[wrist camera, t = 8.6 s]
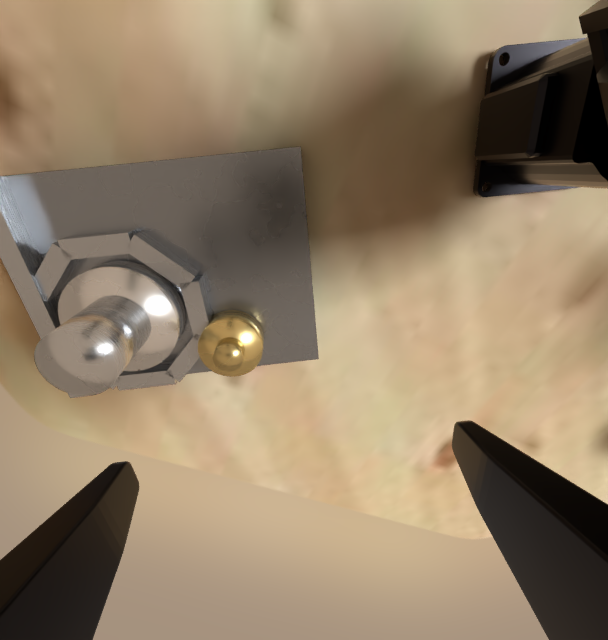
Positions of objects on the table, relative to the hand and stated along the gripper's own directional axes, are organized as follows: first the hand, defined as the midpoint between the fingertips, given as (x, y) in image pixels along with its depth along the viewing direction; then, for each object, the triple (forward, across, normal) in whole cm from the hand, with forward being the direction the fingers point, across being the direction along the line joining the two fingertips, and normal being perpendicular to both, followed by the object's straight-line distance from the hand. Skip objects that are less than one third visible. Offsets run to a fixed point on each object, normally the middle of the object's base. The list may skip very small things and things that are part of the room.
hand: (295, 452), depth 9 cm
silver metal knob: (+11, +9, 0) cm, 14 cm away
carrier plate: (+12, +6, -2) cm, 14 cm away
